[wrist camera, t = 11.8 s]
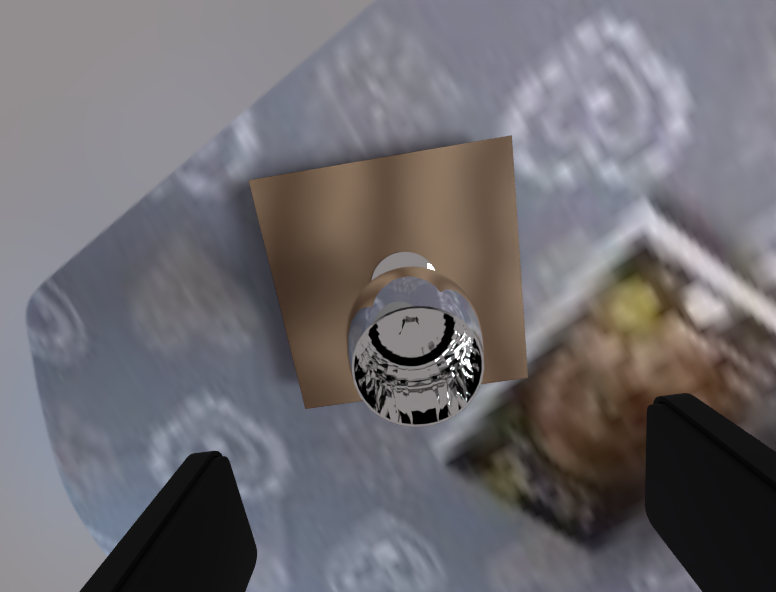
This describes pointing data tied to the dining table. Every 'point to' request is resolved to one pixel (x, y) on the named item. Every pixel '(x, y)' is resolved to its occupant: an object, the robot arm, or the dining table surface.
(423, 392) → the wineglass
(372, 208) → the stand
